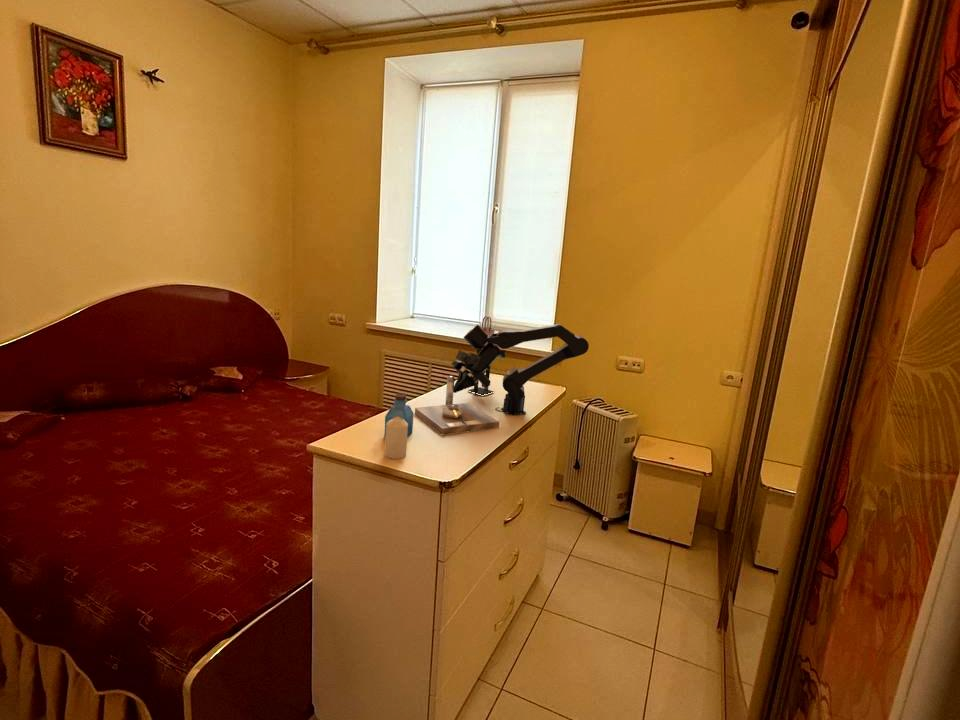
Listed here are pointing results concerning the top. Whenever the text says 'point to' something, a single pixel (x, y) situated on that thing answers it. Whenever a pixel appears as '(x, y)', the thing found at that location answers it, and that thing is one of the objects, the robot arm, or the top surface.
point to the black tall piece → (483, 390)
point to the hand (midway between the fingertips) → (453, 391)
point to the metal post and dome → (451, 401)
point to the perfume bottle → (400, 412)
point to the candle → (396, 438)
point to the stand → (456, 419)
